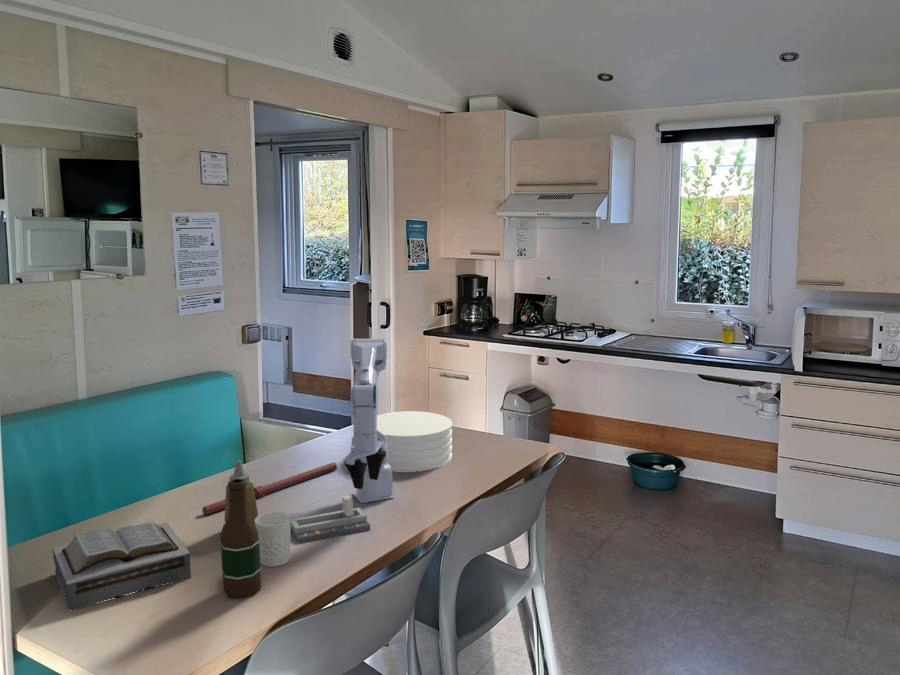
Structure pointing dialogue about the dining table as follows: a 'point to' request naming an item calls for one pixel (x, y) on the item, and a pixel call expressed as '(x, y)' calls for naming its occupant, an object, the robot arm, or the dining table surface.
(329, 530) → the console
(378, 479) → the robot arm
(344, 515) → the fader
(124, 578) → the bible
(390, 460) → the plate stack
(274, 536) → the white cup
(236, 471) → the squeeze bottle
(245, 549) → the sauce bottle
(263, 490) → the red long thin rod
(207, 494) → the dining table surface
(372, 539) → the dining table surface
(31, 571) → the dining table surface
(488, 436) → the dining table surface
